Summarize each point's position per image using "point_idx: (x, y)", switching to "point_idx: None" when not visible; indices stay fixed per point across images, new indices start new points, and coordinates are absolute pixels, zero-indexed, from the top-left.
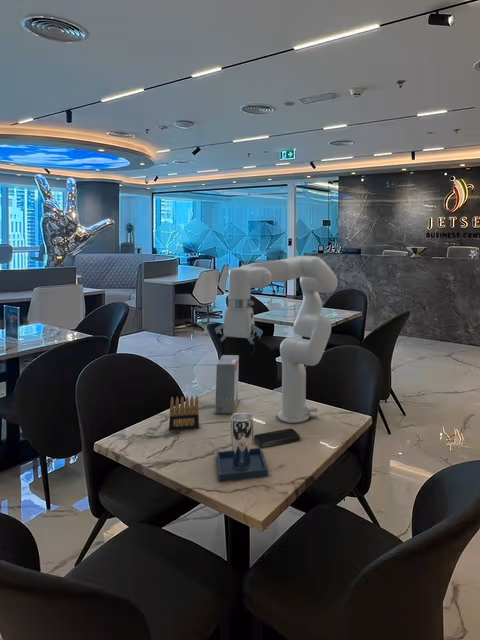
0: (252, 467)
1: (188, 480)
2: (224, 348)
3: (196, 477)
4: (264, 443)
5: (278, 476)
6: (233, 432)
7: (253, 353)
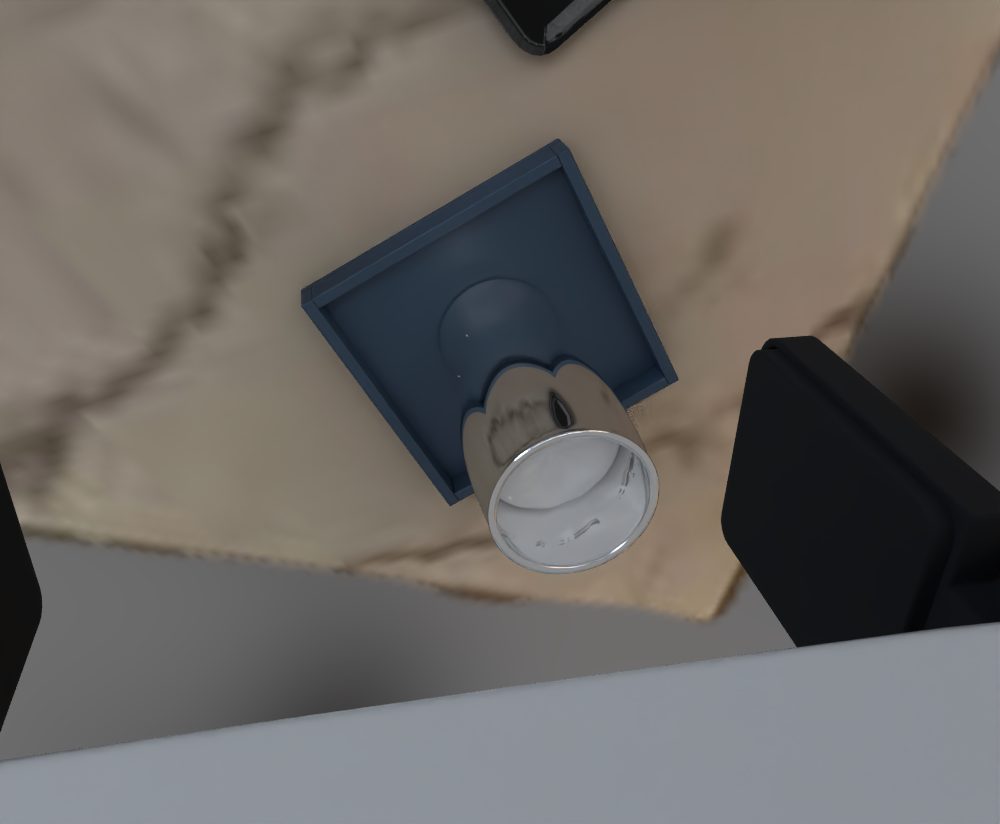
0: (568, 333)
1: (289, 529)
2: (6, 702)
3: (311, 497)
4: (561, 40)
5: (721, 347)
6: (513, 518)
7: (805, 349)
